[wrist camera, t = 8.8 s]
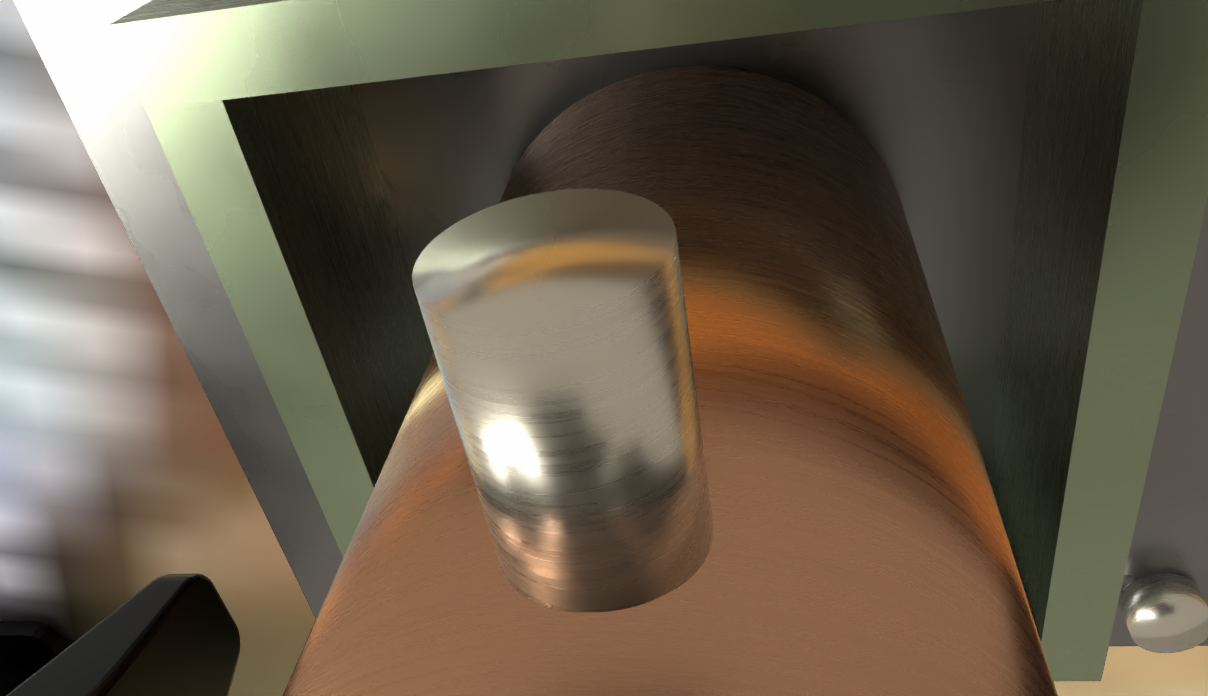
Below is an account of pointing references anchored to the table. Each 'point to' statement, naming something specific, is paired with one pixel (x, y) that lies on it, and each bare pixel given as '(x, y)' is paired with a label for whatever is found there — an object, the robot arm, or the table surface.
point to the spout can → (682, 432)
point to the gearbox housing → (654, 42)
